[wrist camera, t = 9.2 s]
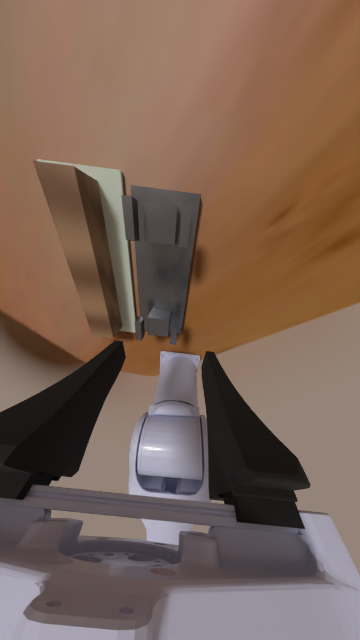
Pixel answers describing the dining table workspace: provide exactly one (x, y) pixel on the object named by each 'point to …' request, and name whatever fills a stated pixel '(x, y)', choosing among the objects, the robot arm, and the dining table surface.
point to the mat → (114, 237)
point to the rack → (161, 255)
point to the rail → (83, 242)
